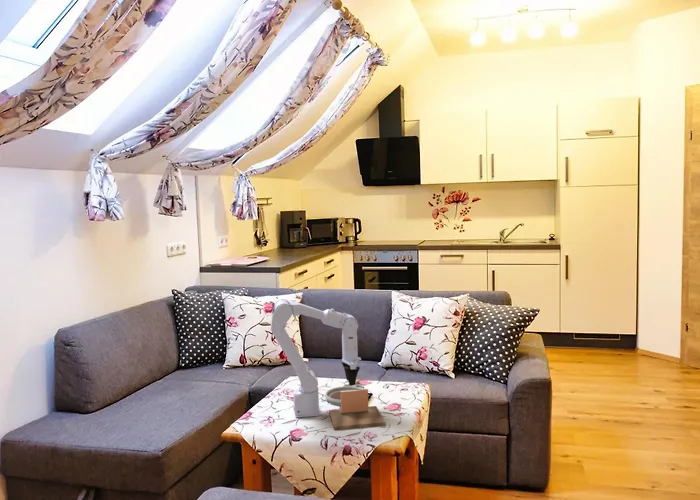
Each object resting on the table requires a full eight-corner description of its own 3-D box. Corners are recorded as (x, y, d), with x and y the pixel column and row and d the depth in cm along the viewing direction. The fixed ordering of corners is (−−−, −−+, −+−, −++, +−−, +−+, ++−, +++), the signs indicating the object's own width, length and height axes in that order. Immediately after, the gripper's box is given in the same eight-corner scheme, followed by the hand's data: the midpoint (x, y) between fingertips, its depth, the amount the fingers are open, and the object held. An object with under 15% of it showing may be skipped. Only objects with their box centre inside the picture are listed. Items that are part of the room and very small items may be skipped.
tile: (341, 413, 223) (341, 414, 223) (340, 391, 222) (340, 392, 221) (367, 410, 225) (368, 411, 224) (367, 389, 223) (368, 390, 222)
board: (334, 430, 212) (334, 426, 211) (328, 413, 227) (328, 410, 227) (385, 425, 214) (385, 422, 214) (376, 409, 230) (376, 405, 230)
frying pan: (377, 379, 259) (361, 401, 232) (377, 386, 259) (361, 408, 232) (338, 377, 263) (319, 398, 236) (338, 383, 263) (319, 405, 236)
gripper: (363, 351, 222) (364, 387, 223) (357, 341, 236) (358, 375, 237) (344, 353, 220) (345, 389, 222) (339, 342, 235) (340, 377, 236)
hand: (350, 382), depth 230 cm, fingers open, 5 cm apart
